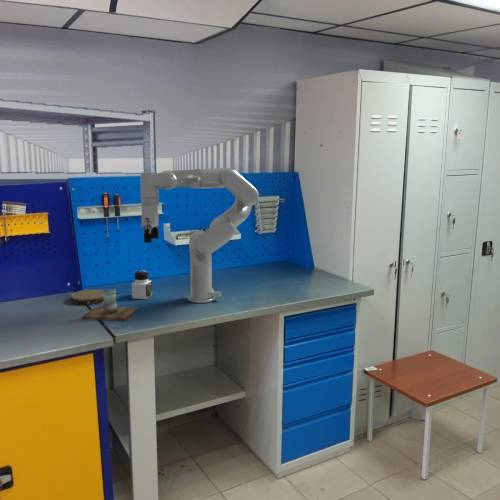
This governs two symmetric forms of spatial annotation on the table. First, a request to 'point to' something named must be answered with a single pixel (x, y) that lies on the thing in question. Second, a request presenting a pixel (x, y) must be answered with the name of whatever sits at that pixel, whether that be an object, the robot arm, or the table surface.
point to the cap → (109, 296)
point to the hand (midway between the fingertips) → (151, 240)
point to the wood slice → (87, 297)
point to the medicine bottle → (141, 286)
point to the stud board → (115, 316)
